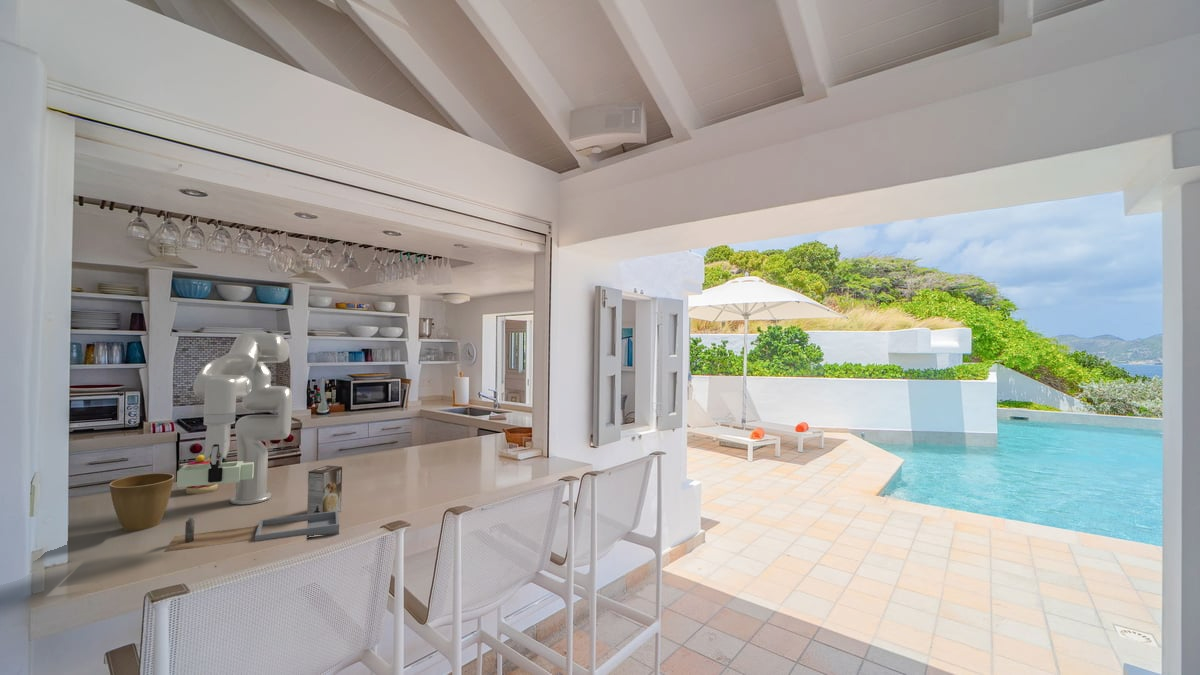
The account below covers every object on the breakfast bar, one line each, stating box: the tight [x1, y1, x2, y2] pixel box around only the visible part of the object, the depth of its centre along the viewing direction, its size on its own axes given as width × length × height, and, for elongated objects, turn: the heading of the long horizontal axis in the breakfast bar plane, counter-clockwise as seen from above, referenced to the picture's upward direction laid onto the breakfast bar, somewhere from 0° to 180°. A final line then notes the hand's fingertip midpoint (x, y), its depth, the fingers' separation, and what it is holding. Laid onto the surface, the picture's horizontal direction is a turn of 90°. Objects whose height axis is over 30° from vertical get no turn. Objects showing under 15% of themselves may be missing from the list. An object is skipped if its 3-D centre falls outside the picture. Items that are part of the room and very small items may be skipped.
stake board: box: [163, 516, 257, 553], centre depth 148 cm, size 12×20×8 cm, turn 119°
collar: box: [176, 461, 254, 488], centre depth 148 cm, size 7×17×4 cm, turn 119°
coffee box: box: [306, 465, 343, 514], centre depth 174 cm, size 9×6×16 cm
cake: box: [185, 454, 219, 495], centre depth 196 cm, size 10×11×15 cm
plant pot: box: [109, 472, 175, 532], centre depth 155 cm, size 15×15×16 cm
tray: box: [254, 511, 340, 542], centre depth 158 cm, size 14×22×3 cm, turn 119°
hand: (217, 477), depth 148 cm, fingers closed on collar, 7 cm apart
